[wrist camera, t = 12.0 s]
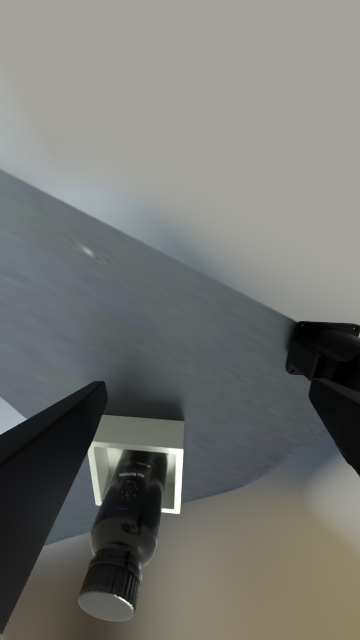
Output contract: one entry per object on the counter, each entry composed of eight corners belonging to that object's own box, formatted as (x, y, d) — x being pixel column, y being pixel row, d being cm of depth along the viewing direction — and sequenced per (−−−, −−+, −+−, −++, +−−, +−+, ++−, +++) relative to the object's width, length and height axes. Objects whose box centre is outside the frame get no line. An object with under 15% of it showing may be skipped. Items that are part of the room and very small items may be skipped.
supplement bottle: (146, 430, 24) (105, 575, 13) (178, 460, 25) (167, 618, 14) (112, 452, 26) (48, 599, 14) (143, 479, 27) (108, 635, 16)
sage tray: (184, 421, 25) (183, 449, 21) (181, 480, 28) (179, 513, 24) (102, 414, 25) (86, 440, 21) (108, 473, 29) (96, 505, 25)
